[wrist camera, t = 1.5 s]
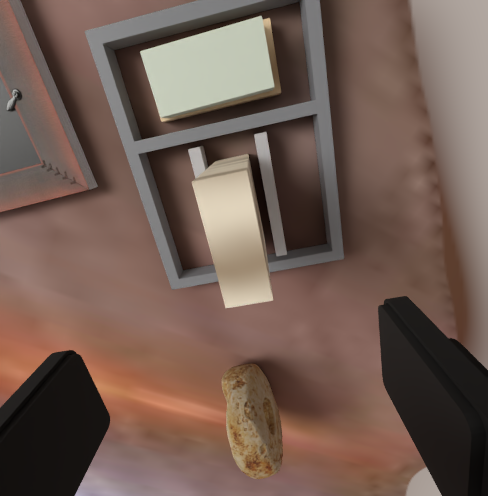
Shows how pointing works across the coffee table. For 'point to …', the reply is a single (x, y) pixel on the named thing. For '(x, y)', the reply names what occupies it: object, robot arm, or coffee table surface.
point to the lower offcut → (252, 98)
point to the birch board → (234, 230)
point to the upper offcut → (209, 68)
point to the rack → (222, 127)
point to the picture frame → (33, 122)
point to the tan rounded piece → (252, 421)
